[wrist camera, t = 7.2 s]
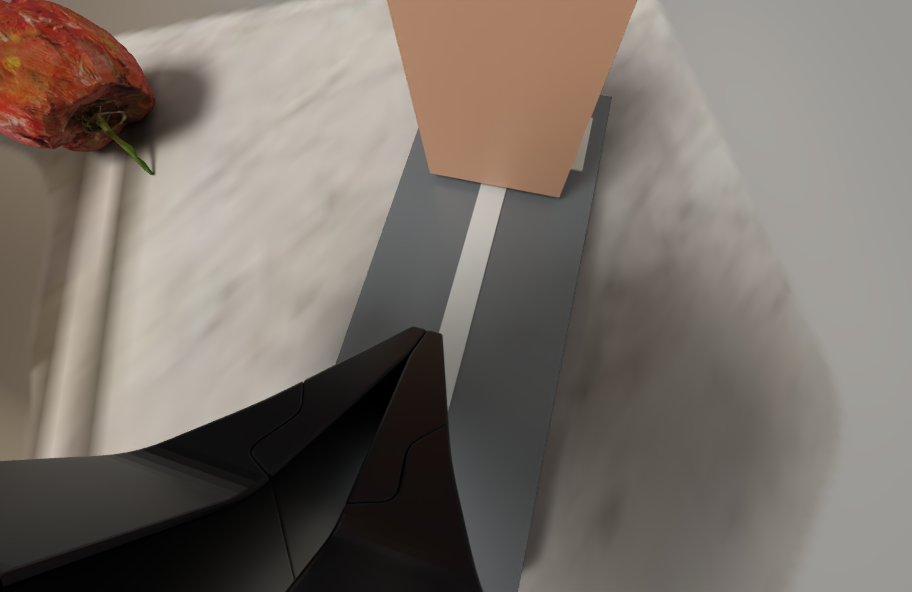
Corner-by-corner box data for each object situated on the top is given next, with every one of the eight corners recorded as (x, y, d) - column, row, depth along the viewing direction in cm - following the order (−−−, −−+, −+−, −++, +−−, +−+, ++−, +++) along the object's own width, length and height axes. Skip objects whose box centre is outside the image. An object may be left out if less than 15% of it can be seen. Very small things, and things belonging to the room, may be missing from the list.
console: (509, 580, 13) (514, 614, 11) (306, 507, 15) (277, 526, 13) (598, 127, 19) (612, 95, 17) (442, 102, 20) (437, 70, 18)
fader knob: (559, 197, 15) (697, -152, 5) (430, 173, 16) (345, -165, 6) (575, 123, 16) (717, -287, 6) (452, 104, 17) (410, -282, 7)
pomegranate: (228, 147, 23) (101, -19, 19) (156, 138, 16) (-61, -121, 13) (139, 202, 23) (-2, 50, 20) (32, 216, 17) (-213, -13, 13)
